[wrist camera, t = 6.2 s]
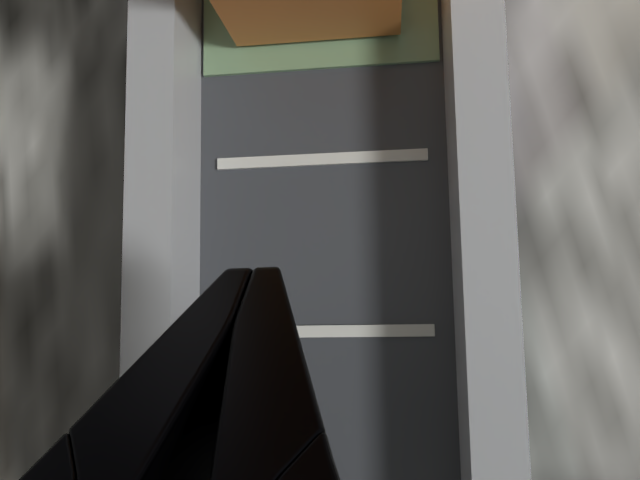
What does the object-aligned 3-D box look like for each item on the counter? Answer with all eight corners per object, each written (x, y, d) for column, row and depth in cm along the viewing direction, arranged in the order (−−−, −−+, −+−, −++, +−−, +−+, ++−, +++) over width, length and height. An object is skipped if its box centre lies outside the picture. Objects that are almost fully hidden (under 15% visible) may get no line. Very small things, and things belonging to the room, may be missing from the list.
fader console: (501, 569, 15) (541, 664, 11) (180, 556, 16) (113, 638, 12) (469, -86, 17) (493, -201, 13) (186, -59, 18) (131, -158, 14)
